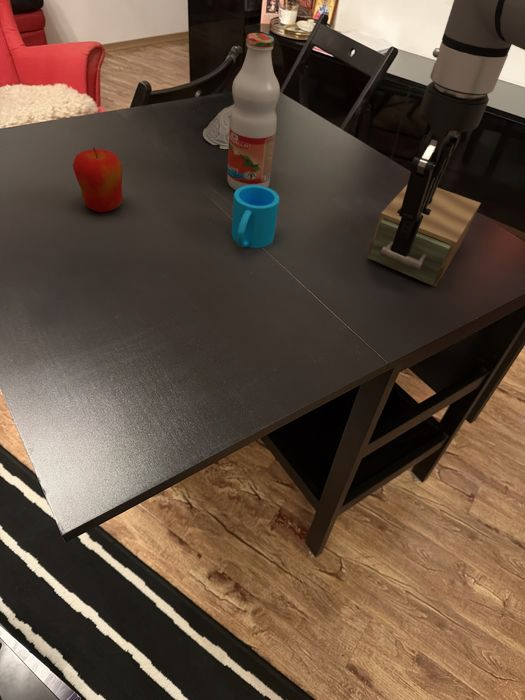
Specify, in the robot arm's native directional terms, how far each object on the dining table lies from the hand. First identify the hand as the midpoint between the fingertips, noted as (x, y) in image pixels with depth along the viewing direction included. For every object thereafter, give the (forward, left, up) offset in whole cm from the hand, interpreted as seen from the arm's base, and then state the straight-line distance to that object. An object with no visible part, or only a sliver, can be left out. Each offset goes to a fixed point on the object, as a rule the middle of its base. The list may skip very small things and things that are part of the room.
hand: (399, 251), depth 74 cm
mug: (+27, 0, -10) cm, 29 cm away
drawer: (0, -14, -9) cm, 17 cm away
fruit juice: (+39, -18, -10) cm, 44 cm away
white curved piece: (+56, -40, -10) cm, 70 cm away
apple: (+55, +9, -10) cm, 57 cm away
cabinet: (0, -18, -10) cm, 21 cm away
